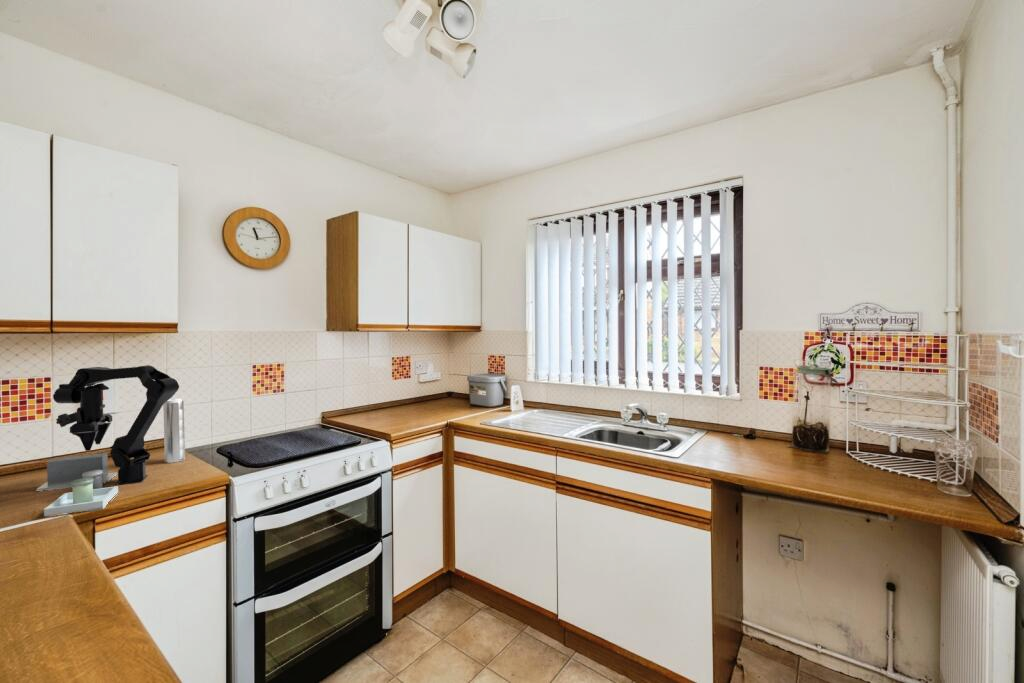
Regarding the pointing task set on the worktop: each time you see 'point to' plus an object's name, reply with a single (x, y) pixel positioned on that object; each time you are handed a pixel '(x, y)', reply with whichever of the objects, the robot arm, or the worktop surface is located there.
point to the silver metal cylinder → (174, 430)
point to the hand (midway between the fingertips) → (93, 447)
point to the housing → (74, 470)
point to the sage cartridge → (82, 490)
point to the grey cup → (94, 477)
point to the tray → (67, 506)
